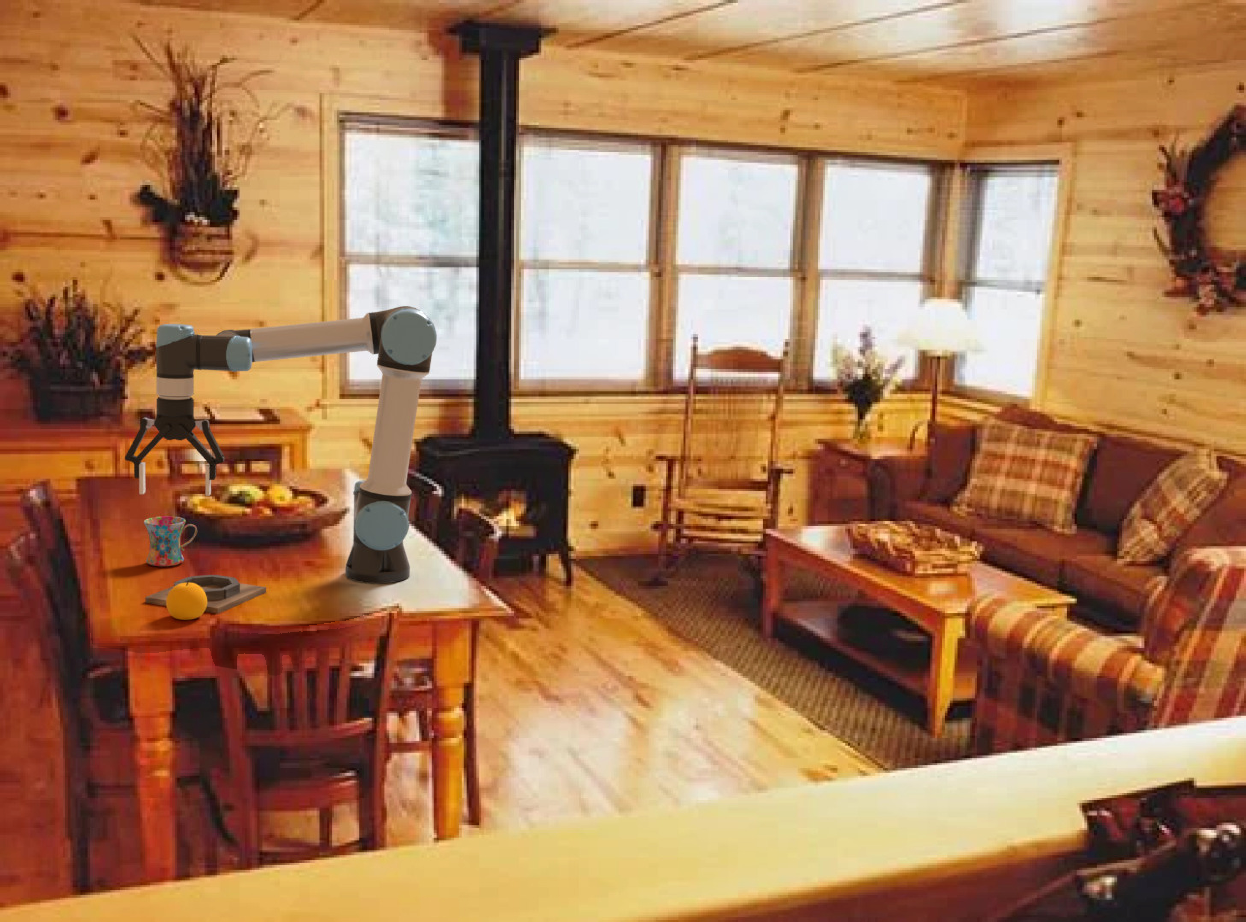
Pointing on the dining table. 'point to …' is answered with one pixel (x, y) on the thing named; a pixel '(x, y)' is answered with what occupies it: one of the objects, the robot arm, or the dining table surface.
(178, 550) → the mug
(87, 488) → the dining table surface
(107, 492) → the dining table surface
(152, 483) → the dining table surface
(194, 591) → the orange fruit
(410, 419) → the robot arm
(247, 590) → the ring board
